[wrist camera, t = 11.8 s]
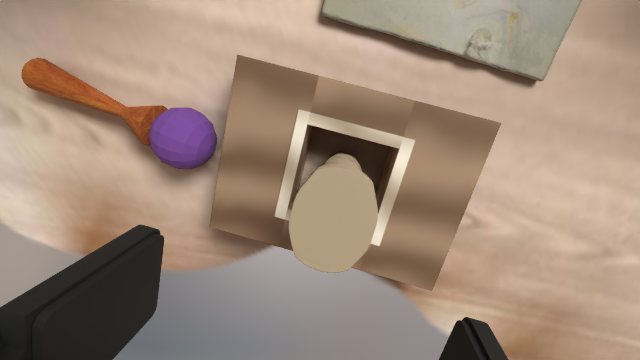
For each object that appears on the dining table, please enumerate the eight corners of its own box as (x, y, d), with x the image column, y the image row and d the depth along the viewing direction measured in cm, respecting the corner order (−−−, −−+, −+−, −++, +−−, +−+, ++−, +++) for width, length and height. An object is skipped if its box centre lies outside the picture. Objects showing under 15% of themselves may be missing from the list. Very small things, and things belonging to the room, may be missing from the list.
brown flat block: (256, 61, 30) (236, 54, 25) (477, 119, 29) (502, 123, 24) (229, 209, 35) (208, 227, 30) (421, 263, 34) (432, 292, 29)
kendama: (16, 34, 29) (207, 117, 27) (74, 56, 34) (234, 125, 33) (-3, 95, 29) (183, 180, 27) (58, 106, 35) (214, 177, 33)
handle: (374, 142, 31) (390, 180, 17) (356, 201, 33) (358, 281, 18) (328, 130, 31) (304, 157, 17) (313, 189, 33) (280, 259, 19)
